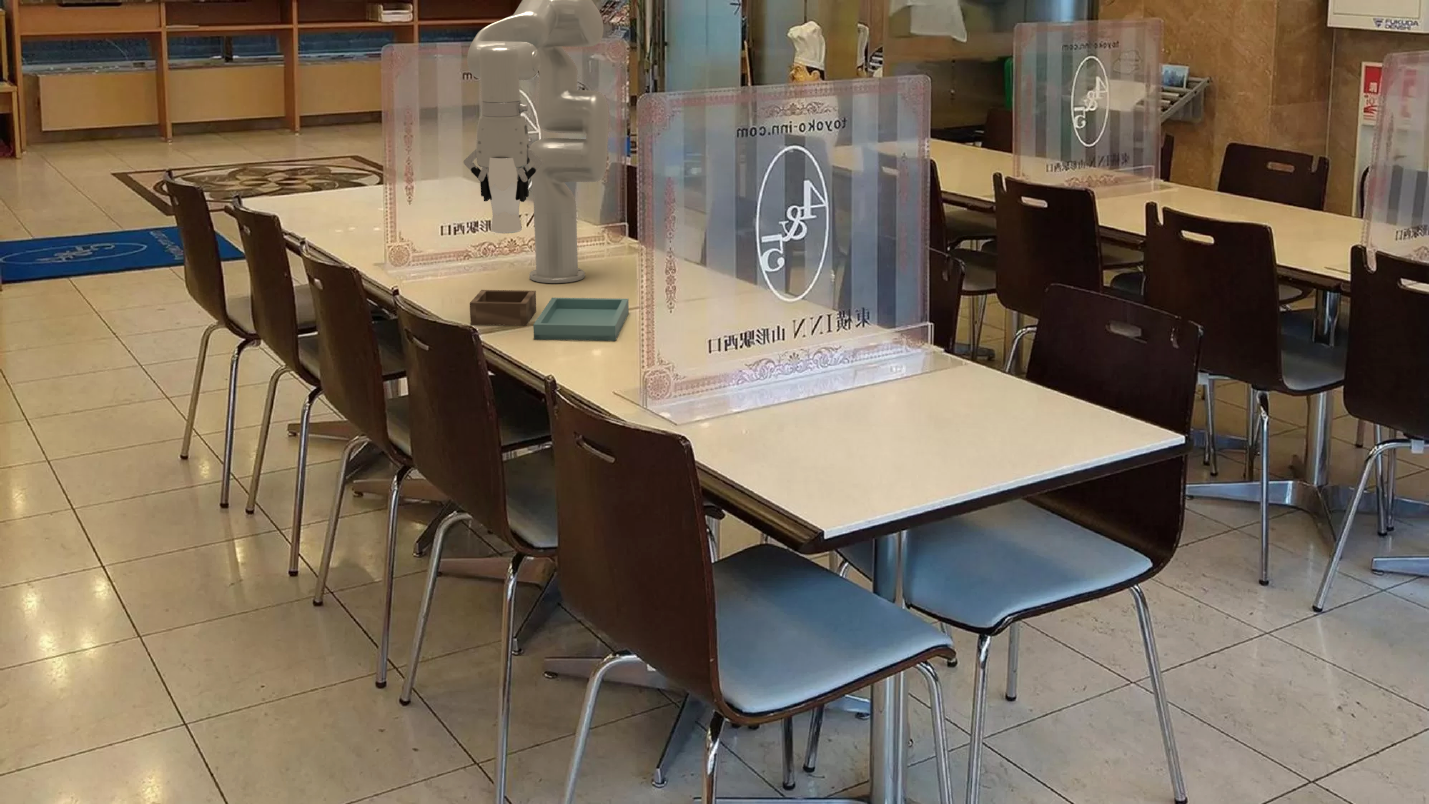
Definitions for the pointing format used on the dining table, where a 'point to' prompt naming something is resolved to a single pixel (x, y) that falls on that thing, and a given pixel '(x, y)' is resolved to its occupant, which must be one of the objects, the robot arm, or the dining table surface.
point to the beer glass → (504, 195)
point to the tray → (581, 319)
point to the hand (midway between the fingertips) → (505, 199)
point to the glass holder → (503, 307)
